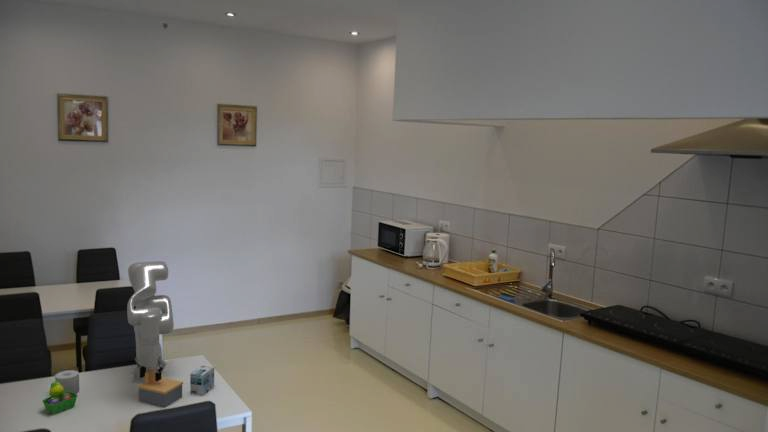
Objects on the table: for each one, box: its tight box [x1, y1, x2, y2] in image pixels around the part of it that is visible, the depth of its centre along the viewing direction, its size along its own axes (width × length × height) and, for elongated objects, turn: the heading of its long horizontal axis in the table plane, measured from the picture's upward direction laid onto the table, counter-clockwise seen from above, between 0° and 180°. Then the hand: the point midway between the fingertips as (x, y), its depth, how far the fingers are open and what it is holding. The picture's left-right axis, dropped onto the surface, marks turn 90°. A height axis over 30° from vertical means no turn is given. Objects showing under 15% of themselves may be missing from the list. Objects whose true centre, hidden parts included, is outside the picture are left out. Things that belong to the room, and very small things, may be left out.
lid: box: [137, 369, 184, 394], centre depth 253 cm, size 15×12×7 cm
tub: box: [138, 384, 183, 408], centre depth 254 cm, size 14×11×7 cm
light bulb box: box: [189, 364, 215, 397], centre depth 264 cm, size 11×7×11 cm, turn 168°
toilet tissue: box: [54, 369, 80, 395], centre depth 260 cm, size 9×13×9 cm
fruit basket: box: [42, 381, 78, 415], centre depth 243 cm, size 11×9×11 cm
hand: (150, 378), depth 255 cm, fingers open, 7 cm apart
